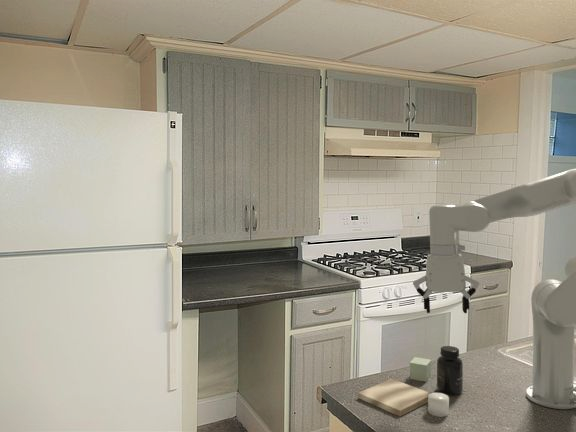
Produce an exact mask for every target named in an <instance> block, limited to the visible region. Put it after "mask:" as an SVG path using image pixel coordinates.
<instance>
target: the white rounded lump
mask: <svg viewBox="0 0 576 432" xmlns="http://www.w3.org/2000/svg"><path fill="white" fill-rule="evenodd" d="M430 393H431V394H429V395H428V402H427V404H428V405H427V406H428V407H427V409H428V413H429V414H430V415H431V416H434V417H438V418H443V417H444V418H445V417H447V416H449V415H450V397H449V395H446V394H443V393H441V392H430Z"/></svg>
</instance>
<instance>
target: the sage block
mask: <svg viewBox="0 0 576 432" xmlns="http://www.w3.org/2000/svg"><path fill="white" fill-rule="evenodd" d="M431 376H432V359H428V358H423V357H417V356H414V357H413V358H412V360H410V362H409V380H414V381H419V382H420V381H421V382H425V383H427V382H428V381H429V380H430V378H431Z"/></svg>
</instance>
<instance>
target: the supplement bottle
mask: <svg viewBox="0 0 576 432" xmlns="http://www.w3.org/2000/svg"><path fill="white" fill-rule="evenodd" d="M463 369H464V362H463V360H462V358H460V350H459V348H458V347H456V346H451V345H445V346H441V347H440V356H438V358H437V360H436V389H437V391H438V393H443V394H445V395H447V396H458V395H461V394H462V393H463V392H464V391H463V390H464V389H463V388H464V387H463V383H464V378H463V377H464V370H463Z"/></svg>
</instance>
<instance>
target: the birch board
mask: <svg viewBox="0 0 576 432" xmlns="http://www.w3.org/2000/svg"><path fill="white" fill-rule="evenodd" d="M431 393H432V392H429V391H426V390H423V389H420V388H418V387H416V386H413V385H410V384H407V383H405V382H401V381H398V380H396V379H394V378H390V379H387V380H385V381H383V382H382V381H381V382H380V383H377V384H376V385H374V386H371V387H368V388H366V389H364V390H361V391H360V392H358V393H357V395H358V396H357V398H358V399H359V400H361V401H363V402H366V403H369V404H370V405H373V406H375V407H378V408H380V409H382V410H385V411H386V412H389V413H392V414H394V415H396V416H398V417H402V416H404V415H406V414H408V413H410V412H411V411H414V410H416V409H418V408H419V407H421V406H423V405H425V404H428V395H429V394H431Z"/></svg>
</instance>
